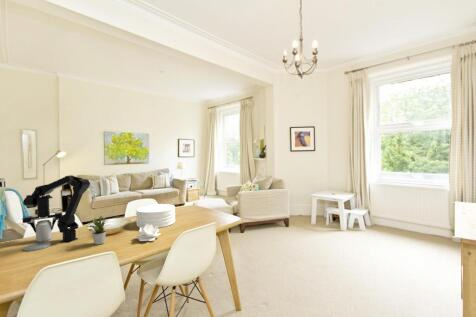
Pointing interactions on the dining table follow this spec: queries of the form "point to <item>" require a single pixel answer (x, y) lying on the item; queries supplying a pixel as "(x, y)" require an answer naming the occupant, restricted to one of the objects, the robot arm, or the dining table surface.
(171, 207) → the plate stack
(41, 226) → the can
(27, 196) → the robot arm
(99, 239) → the house plant
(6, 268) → the dining table surface
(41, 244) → the coaster
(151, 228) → the lotus flower
